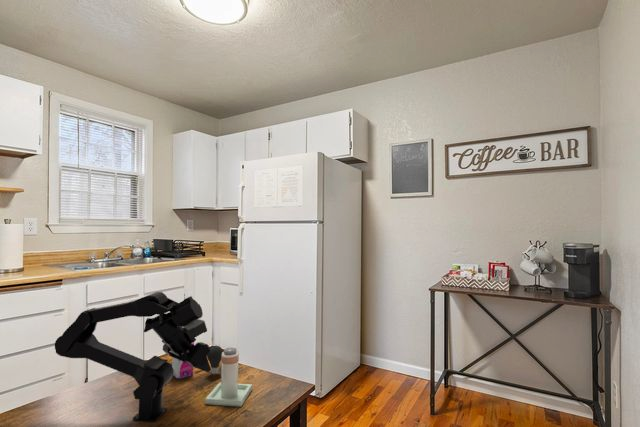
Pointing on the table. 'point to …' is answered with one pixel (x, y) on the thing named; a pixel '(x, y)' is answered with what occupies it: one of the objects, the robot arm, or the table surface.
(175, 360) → the supplement box
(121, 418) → the table surface
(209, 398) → the tray
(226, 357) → the bottle
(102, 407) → the table surface
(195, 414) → the table surface
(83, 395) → the table surface
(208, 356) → the light bulb
